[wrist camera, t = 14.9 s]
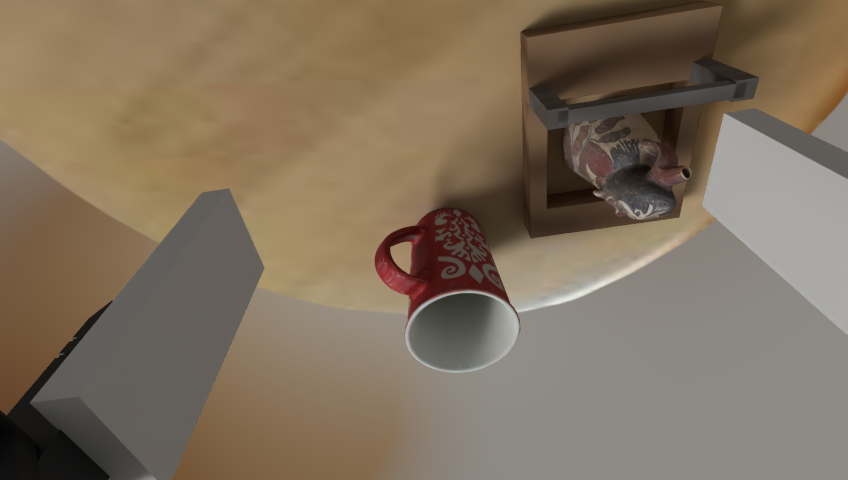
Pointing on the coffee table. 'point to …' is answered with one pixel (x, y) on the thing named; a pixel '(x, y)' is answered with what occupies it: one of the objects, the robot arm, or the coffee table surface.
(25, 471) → the robot arm
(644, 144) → the figurine
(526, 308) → the coffee table surface
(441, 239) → the mug
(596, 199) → the wooden stand
